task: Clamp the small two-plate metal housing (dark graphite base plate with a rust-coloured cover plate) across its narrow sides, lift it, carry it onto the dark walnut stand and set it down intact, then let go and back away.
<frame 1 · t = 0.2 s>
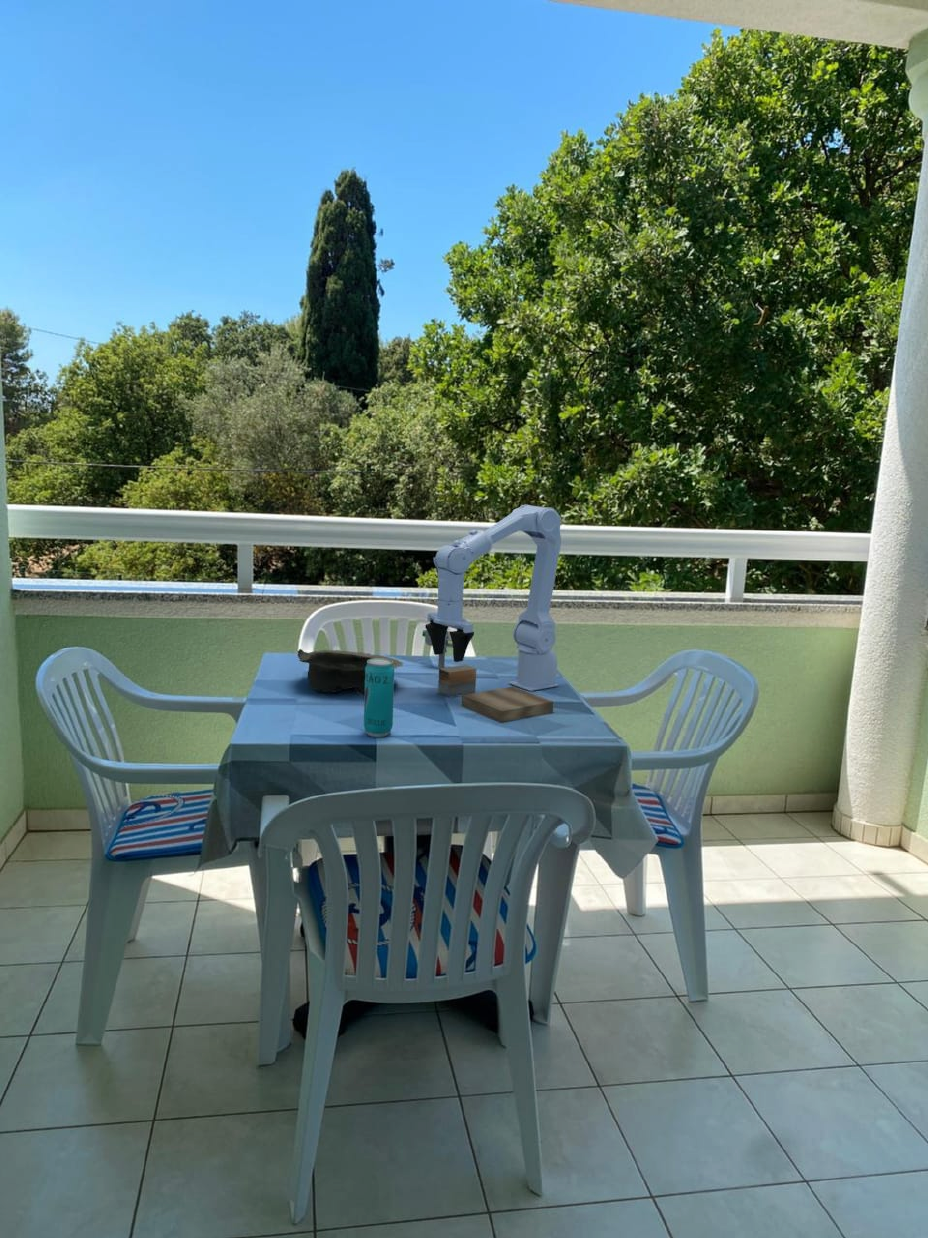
hand: (448, 657, 208), 10 cm above the table, tool pointing down, fingers open, 7 cm apart
two-plate housing: (456, 693, 215), on the table
beverage can: (378, 734, 183), on the table
walnut stand: (506, 709, 203), on the table
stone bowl: (350, 687, 216), on the table
mechanical component: (441, 669, 236), on the table
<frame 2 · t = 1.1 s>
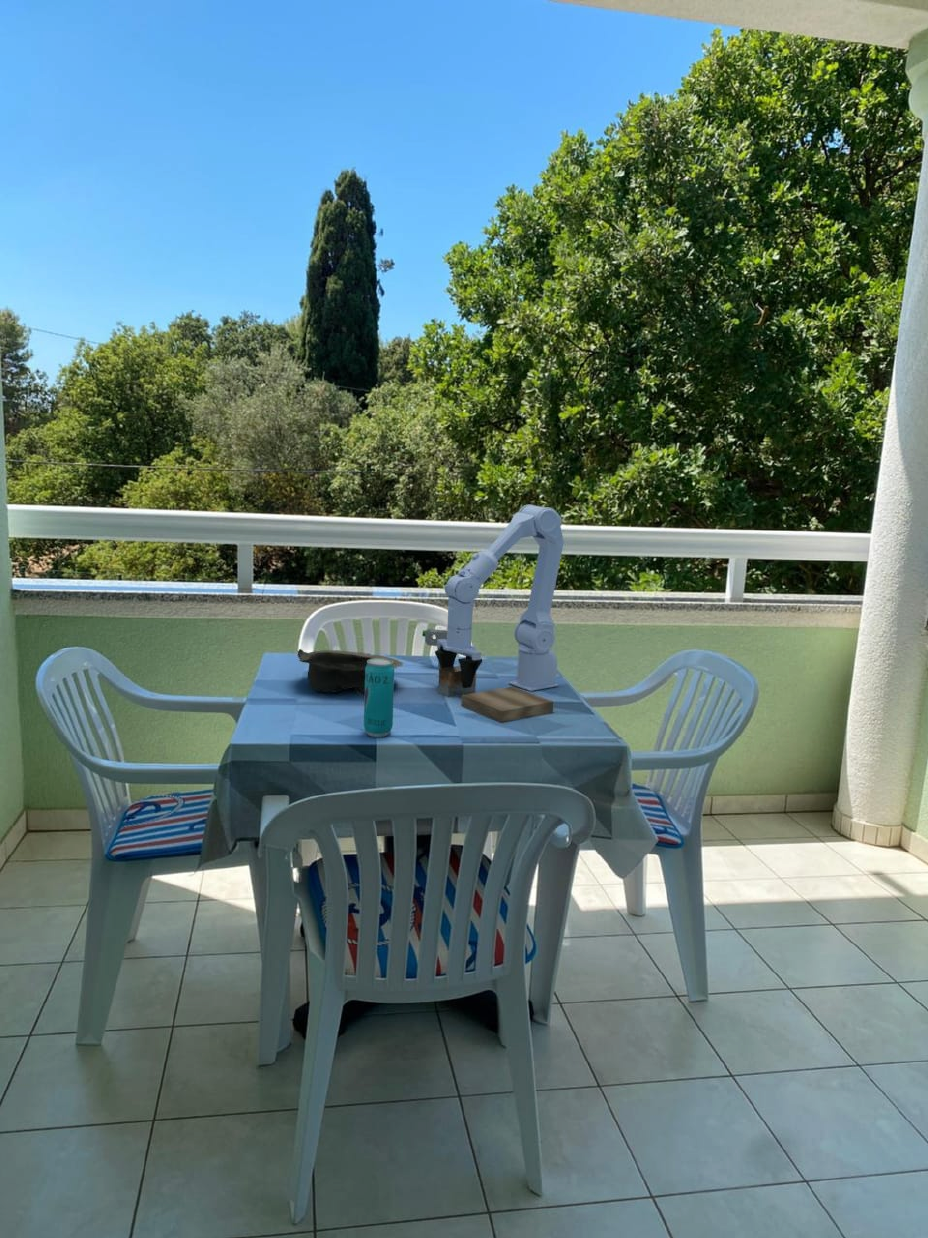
hand: (456, 683, 214), 2 cm above the table, tool pointing down, fingers open, 7 cm apart
nothing on the table moved.
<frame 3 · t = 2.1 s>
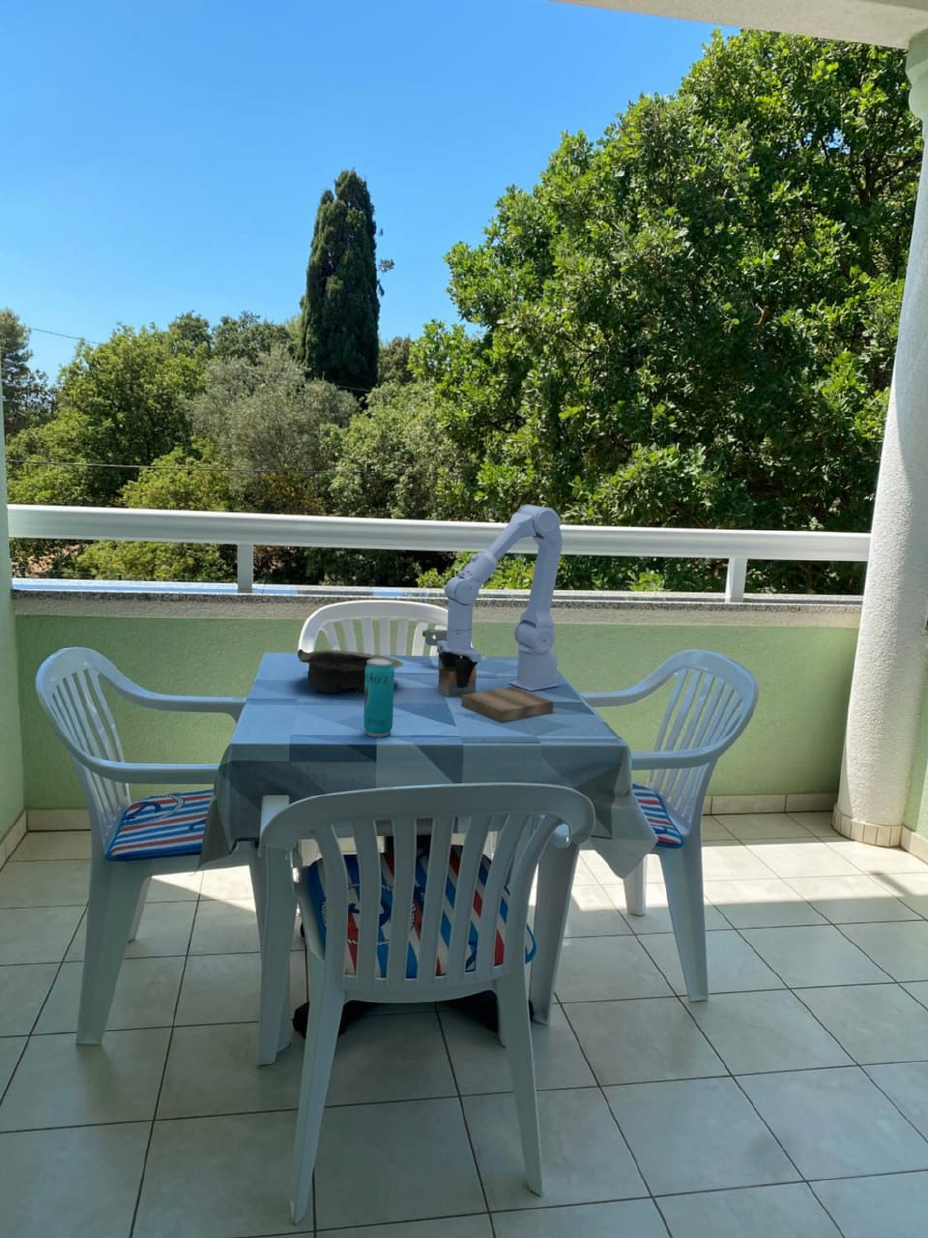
hand: (457, 684, 214), 2 cm above the table, tool pointing down, fingers closed on two-plate housing, 4 cm apart
two-plate housing: (456, 692, 215), on the table, touching gripper
everything else where it was.
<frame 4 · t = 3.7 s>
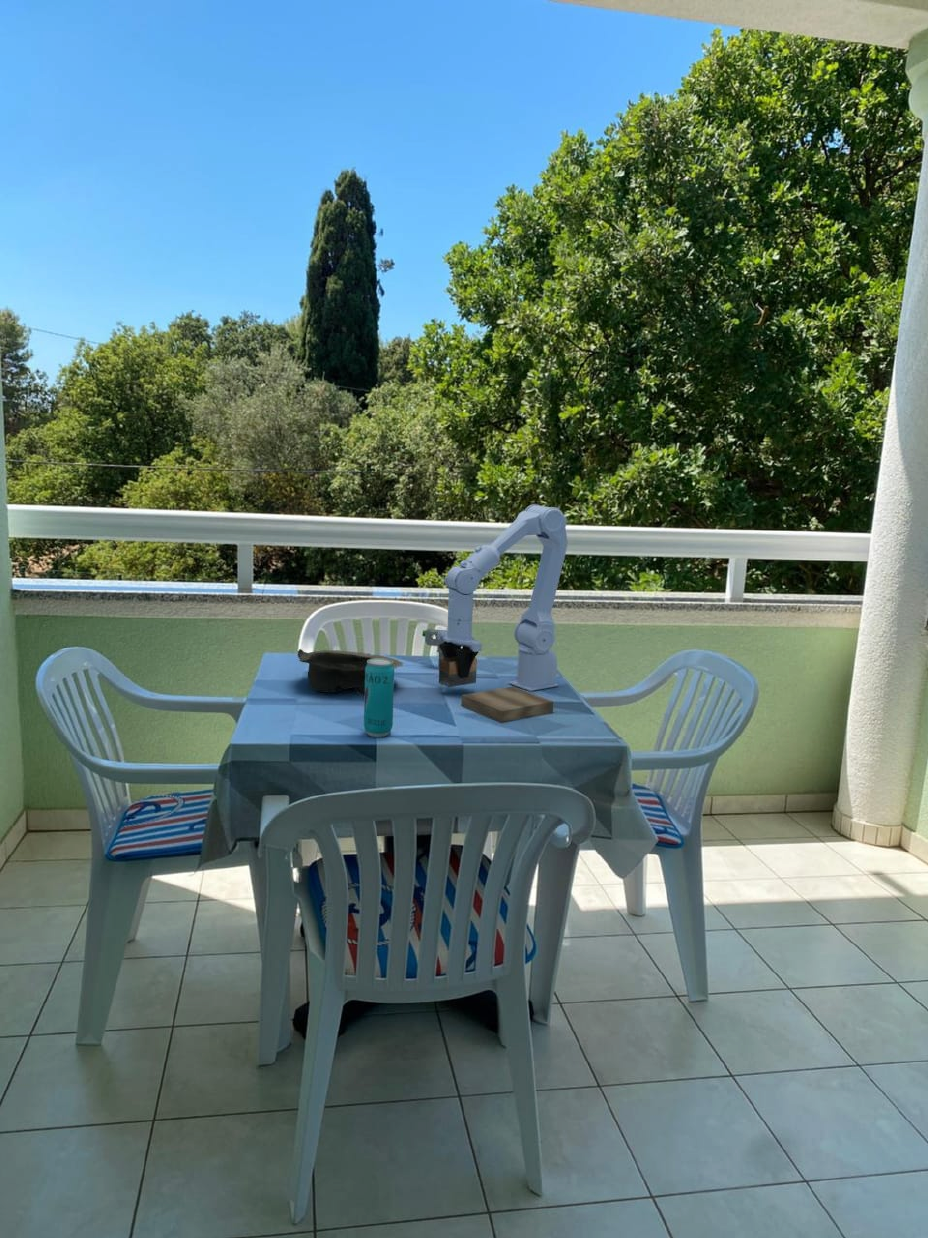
hand: (457, 675, 214), 4 cm above the table, tool pointing down, fingers closed on two-plate housing, 4 cm apart
two-plate housing: (457, 683, 214), point 2 cm above the table, touching gripper
everything else where it was.
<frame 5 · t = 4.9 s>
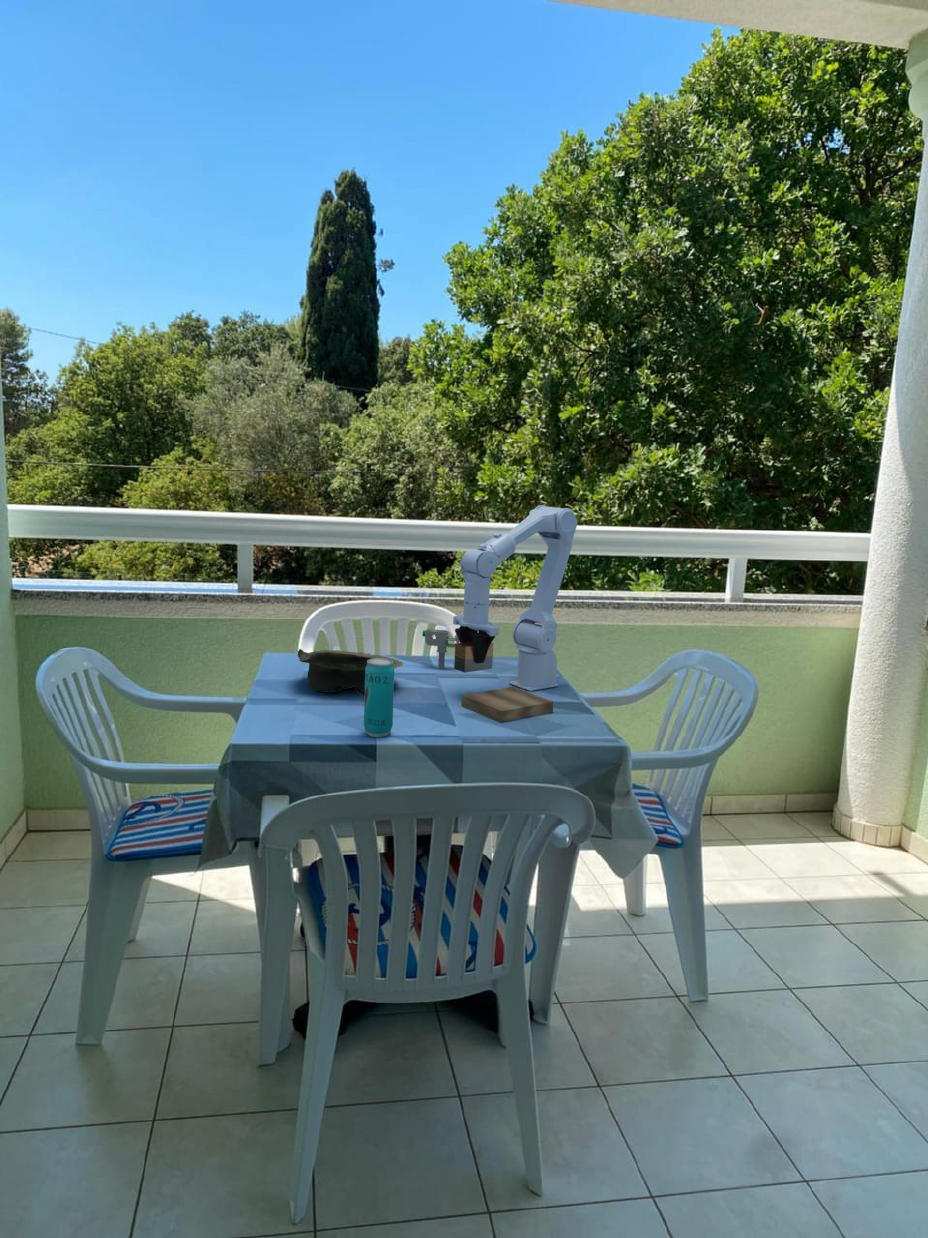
hand: (473, 660, 209), 9 cm above the table, tool pointing down, fingers closed on two-plate housing, 4 cm apart
two-plate housing: (473, 668, 210), point 7 cm above the table, touching gripper
everything else where it was.
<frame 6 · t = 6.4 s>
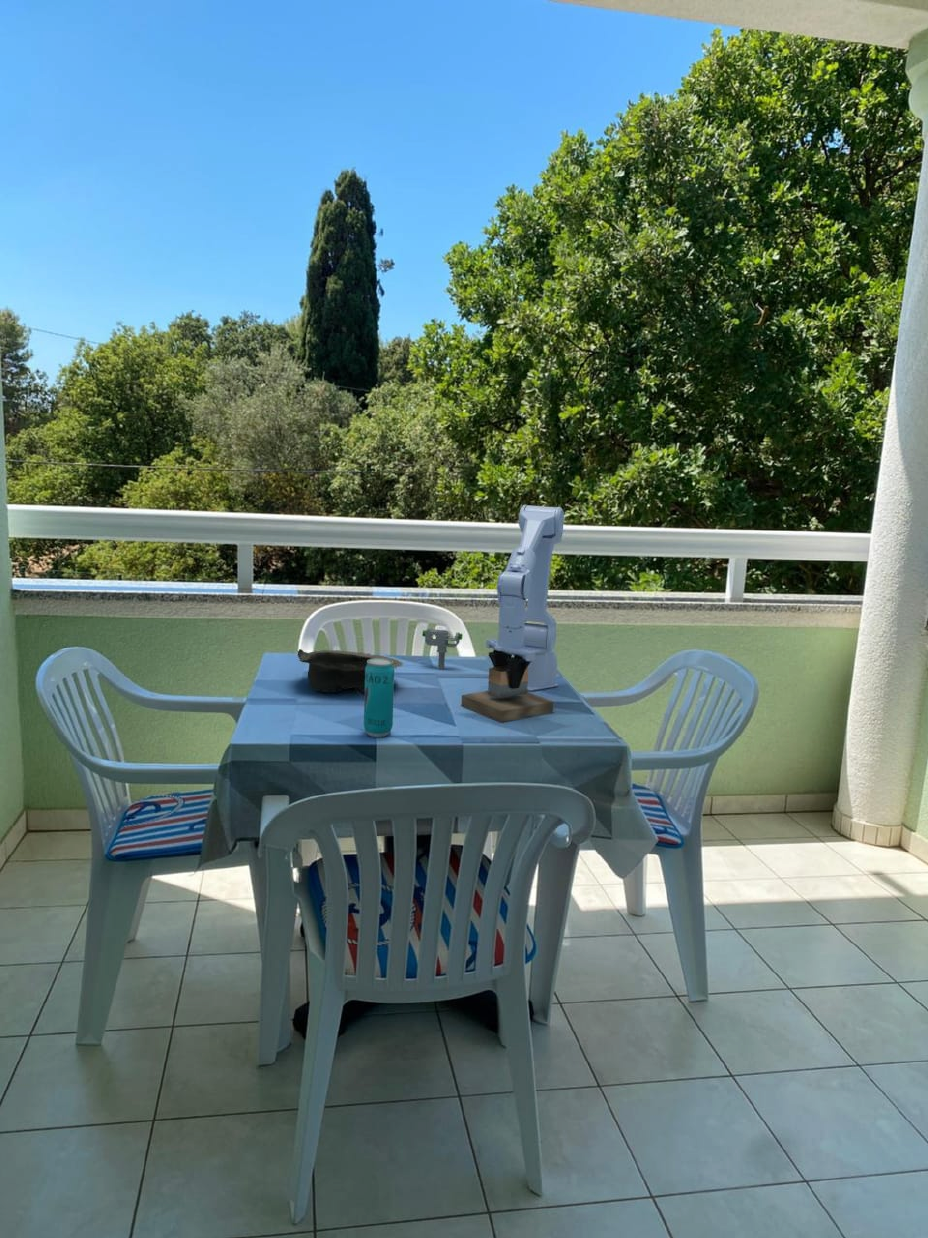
hand: (508, 685, 202), 5 cm above the table, tool pointing down, fingers closed on two-plate housing, 4 cm apart
two-plate housing: (507, 694, 203), point 3 cm above the table, touching gripper
everything else where it was.
when the fingers open (5 cm above the table, at t = 7.2 s): two-plate housing stays where it is, resting on walnut stand.
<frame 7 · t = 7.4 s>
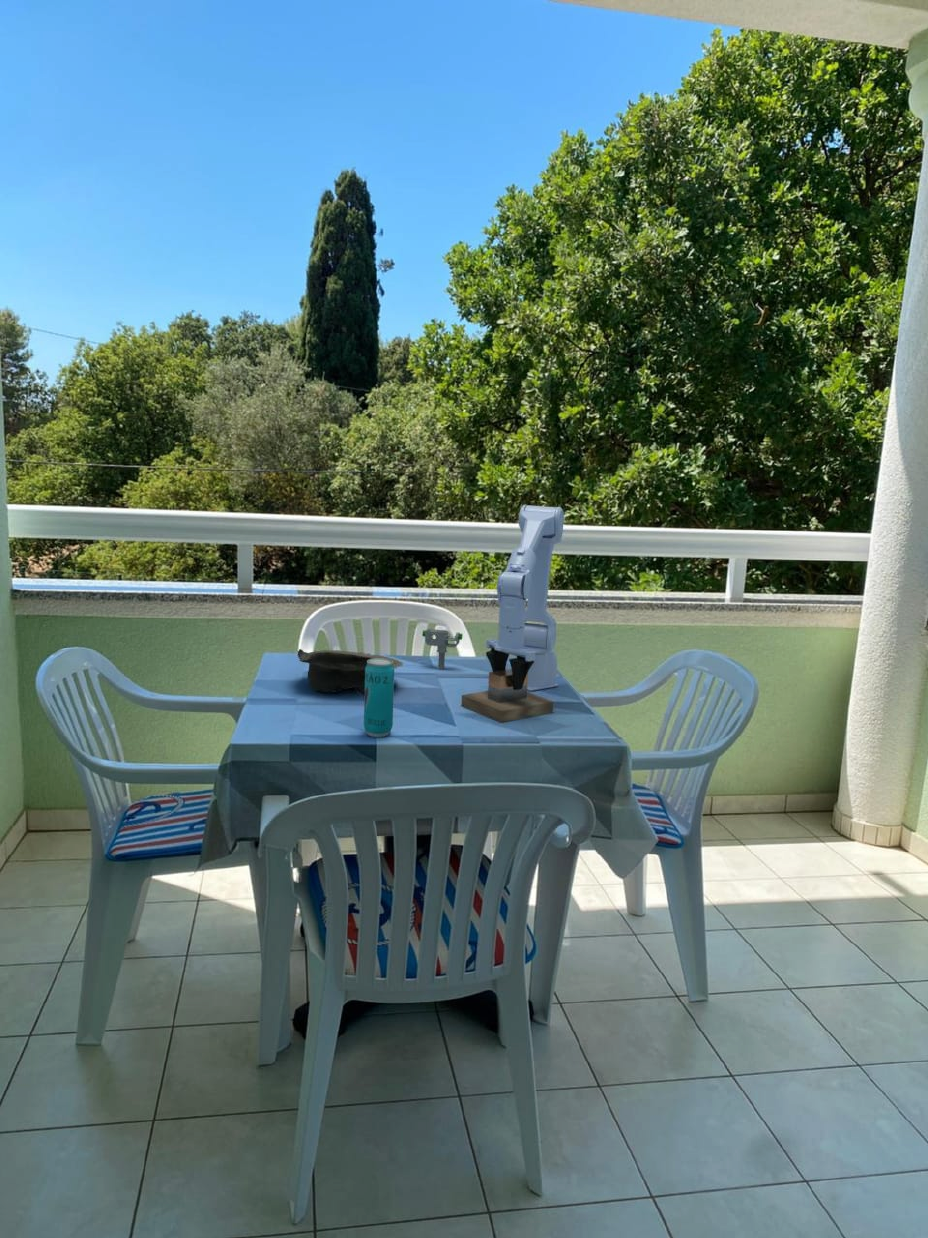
hand: (508, 685, 202), 5 cm above the table, tool pointing down, fingers open, 6 cm apart
two-plate housing: (507, 698, 203), point 2 cm above the table, touching walnut stand
everything else where it was.
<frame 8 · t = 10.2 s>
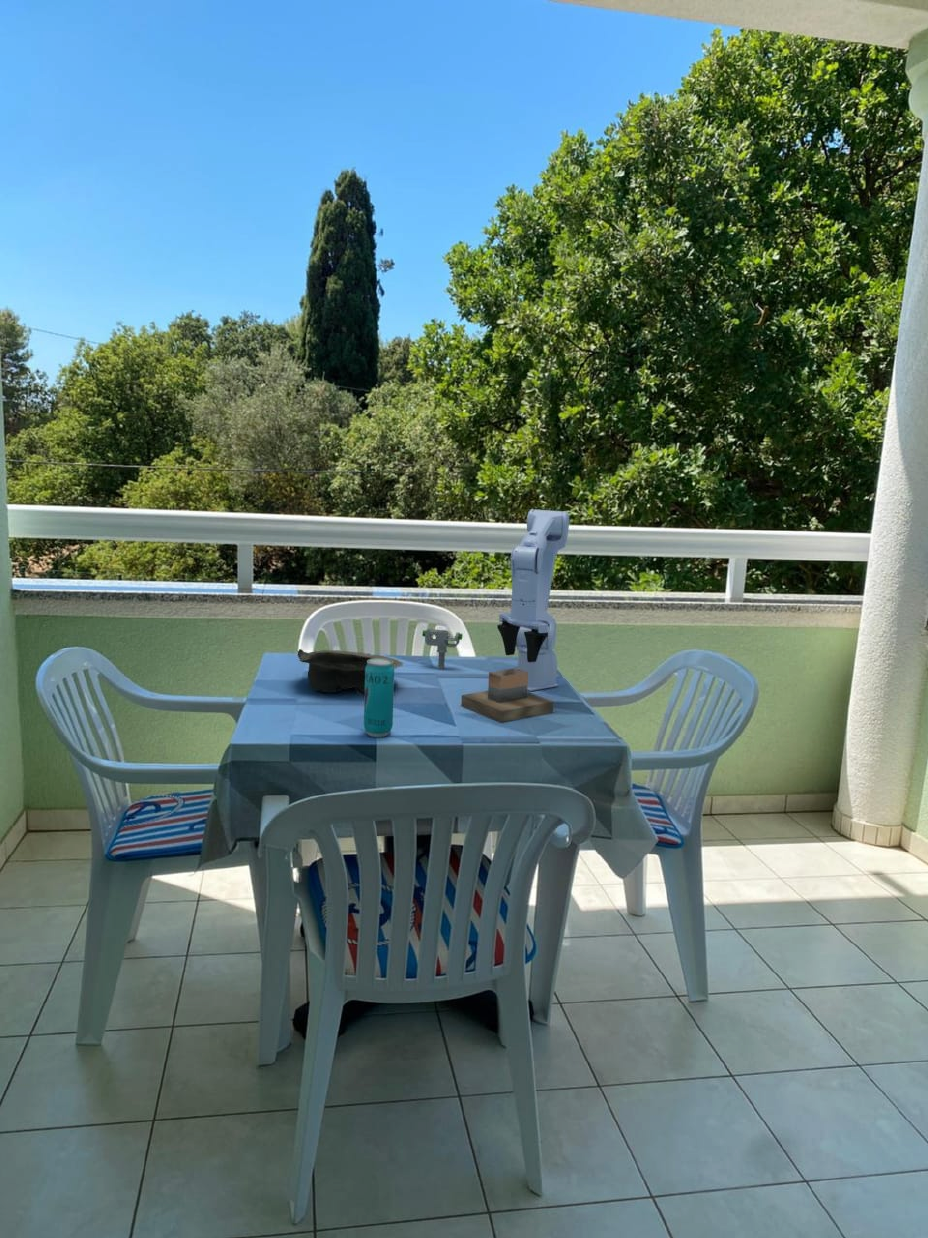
hand: (520, 658, 207), 10 cm above the table, tool pointing down, fingers open, 7 cm apart
nothing on the table moved.
at the end: two-plate housing inside the target area on the walnut stand (0.0 cm from its centre), point 2.5 cm above the walnut stand's base; two-plate housing tilted 0°; the gripper is holding nothing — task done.
